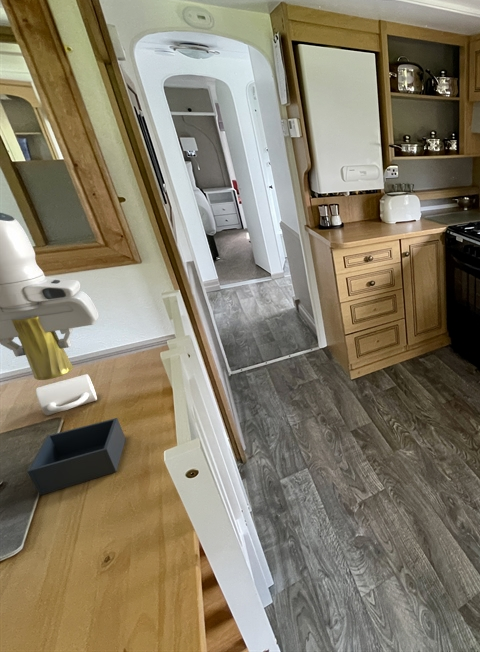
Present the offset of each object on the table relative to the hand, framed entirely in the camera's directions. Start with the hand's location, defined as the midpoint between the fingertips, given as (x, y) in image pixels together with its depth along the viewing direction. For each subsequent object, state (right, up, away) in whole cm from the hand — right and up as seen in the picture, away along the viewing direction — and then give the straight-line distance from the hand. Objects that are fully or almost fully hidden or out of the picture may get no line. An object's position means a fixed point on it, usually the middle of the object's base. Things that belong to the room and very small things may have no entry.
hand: (45, 350), depth 82 cm
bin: (+5, -27, +4) cm, 28 cm away
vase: (0, -5, +2) cm, 6 cm away
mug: (-17, -19, +22) cm, 34 cm away
